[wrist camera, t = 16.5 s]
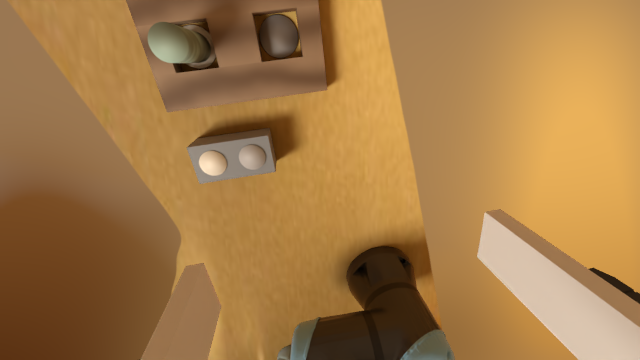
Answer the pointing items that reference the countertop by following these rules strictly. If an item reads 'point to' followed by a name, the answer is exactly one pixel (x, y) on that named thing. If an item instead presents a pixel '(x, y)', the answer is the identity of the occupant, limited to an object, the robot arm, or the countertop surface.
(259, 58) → the board
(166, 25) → the pin
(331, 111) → the countertop surface
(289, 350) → the blue embossed mug
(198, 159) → the block
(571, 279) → the robot arm
